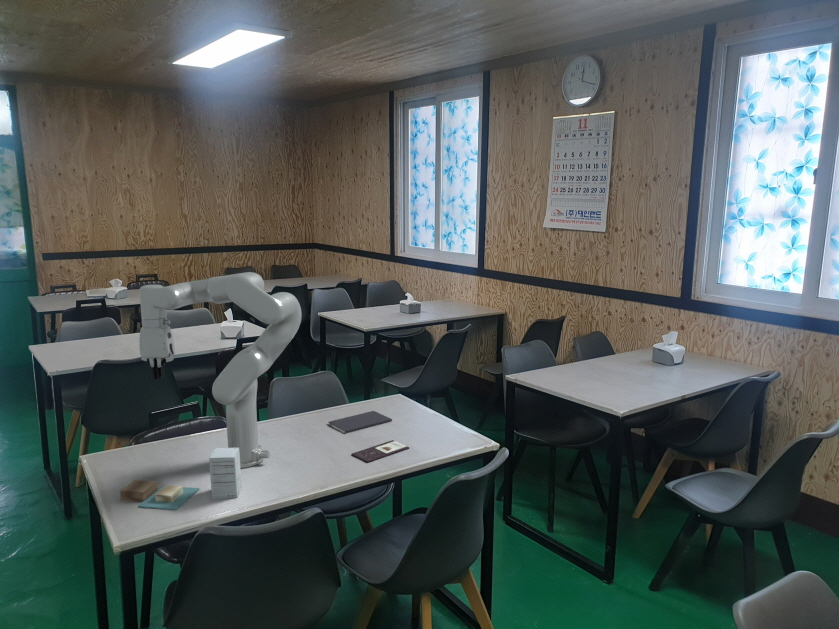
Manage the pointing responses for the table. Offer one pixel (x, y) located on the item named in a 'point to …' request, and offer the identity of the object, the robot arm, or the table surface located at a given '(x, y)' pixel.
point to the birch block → (169, 493)
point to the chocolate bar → (380, 451)
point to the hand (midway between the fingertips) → (158, 377)
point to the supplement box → (225, 473)
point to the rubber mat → (174, 505)
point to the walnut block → (138, 490)
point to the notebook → (359, 422)
